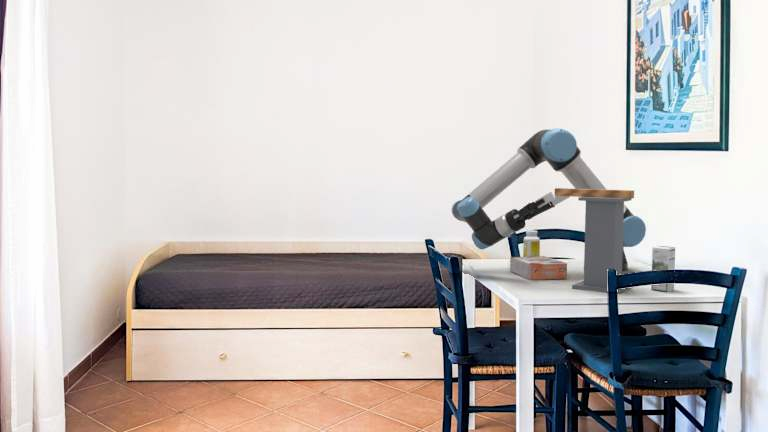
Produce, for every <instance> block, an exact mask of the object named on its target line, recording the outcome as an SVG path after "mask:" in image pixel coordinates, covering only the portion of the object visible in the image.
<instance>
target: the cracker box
mask: <svg viewBox="0 0 768 432" xmlns="http://www.w3.org/2000/svg"><path fill="white" fill-rule="evenodd" d="M509 260H510V261H509V264H510V266H509V269H510V270H509V272H511V273H513V274H516V275H518V276H521V277H524V278H525V279H528V280H530V281H533V280H558V279H559V280H560V279H567V278H568V275H567V274H568V263H567V262H564V261H560V260H557V259H555V258H551V257H548V256H544V255H540V256H532V257H523V256H511V257H510V259H509Z"/></svg>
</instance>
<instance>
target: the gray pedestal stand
mask: <svg viewBox="0 0 768 432" xmlns="http://www.w3.org/2000/svg"><path fill="white" fill-rule="evenodd" d="M578 201H581V202H585V215H584V217H585V218H584V219H585V220H584V222H585V223H584V252H583V253H584V255H583V257H584V258H583V259H584V260H583V280H581V281H579V282H577V283H574V284H572V285H571V289H572V290H573V289H575V290H583V291H593V292H603V293H608V292H607V269H608V268H616V271H617V275H619V274H622V275H623V270H622V253H623V220H624V205H625V202H629V201H632V199H628V198H600V197H578ZM628 290H631V288H625V289H618V293H617V294H622V293H624V292H627V291H628Z"/></svg>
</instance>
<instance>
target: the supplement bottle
mask: <svg viewBox="0 0 768 432" xmlns="http://www.w3.org/2000/svg"><path fill="white" fill-rule="evenodd" d="M525 234H526V236H524V237H523V248H522V249H523V250H522V251H523V252H522V253H523V255H522V257H532V256H541V254H540V253H541V252H540V251H541V250H540V249H541V248H540V247H541V245H540V243H541V239H540V237H538V230H533V229H532V230H531V229H530V230H525Z"/></svg>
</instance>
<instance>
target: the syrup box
mask: <svg viewBox="0 0 768 432" xmlns="http://www.w3.org/2000/svg"><path fill="white" fill-rule="evenodd" d="M651 255H652V256H651V257H652V258H651V272H652V271H654V270H675V269H676V268H675V266H676V247H675V246H668V245H667V246H666V245H665V246H664V245H654V246H652V254H651ZM650 286H651V290H652V291H659V292H667V293H668V292H671V291H674V290H675V283H674V284H659V285H652V284H651V285H650Z"/></svg>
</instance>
